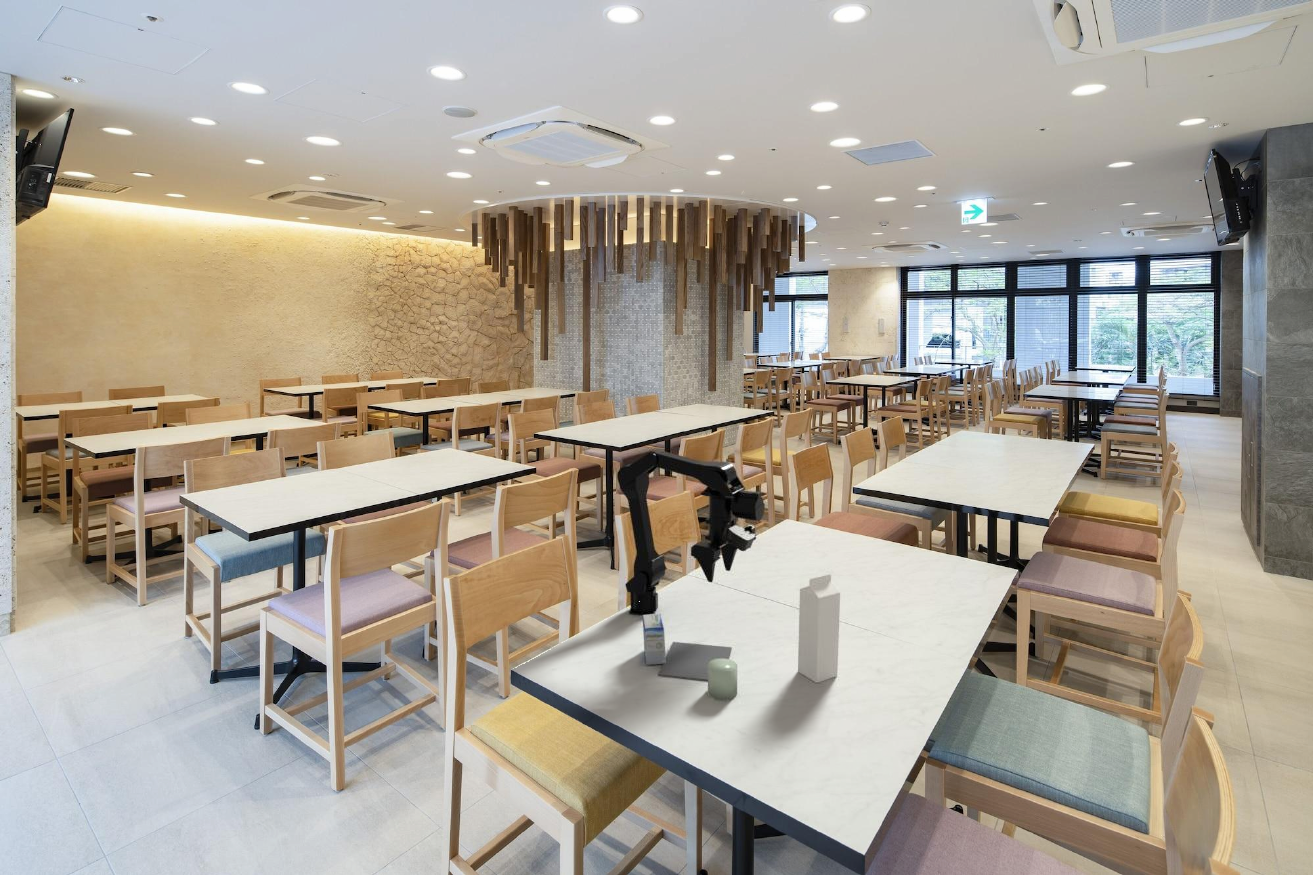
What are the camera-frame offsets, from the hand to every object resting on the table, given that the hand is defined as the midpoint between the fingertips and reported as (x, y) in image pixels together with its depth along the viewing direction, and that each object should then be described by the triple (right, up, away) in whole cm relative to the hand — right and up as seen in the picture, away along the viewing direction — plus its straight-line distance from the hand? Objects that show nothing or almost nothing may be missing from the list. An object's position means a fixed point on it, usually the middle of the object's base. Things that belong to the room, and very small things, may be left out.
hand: (719, 576), depth 170 cm
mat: (-6, -16, -15) cm, 23 cm away
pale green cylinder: (-2, -18, -28) cm, 34 cm away
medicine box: (-16, -16, -13) cm, 26 cm away
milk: (+19, -17, -21) cm, 33 cm away
